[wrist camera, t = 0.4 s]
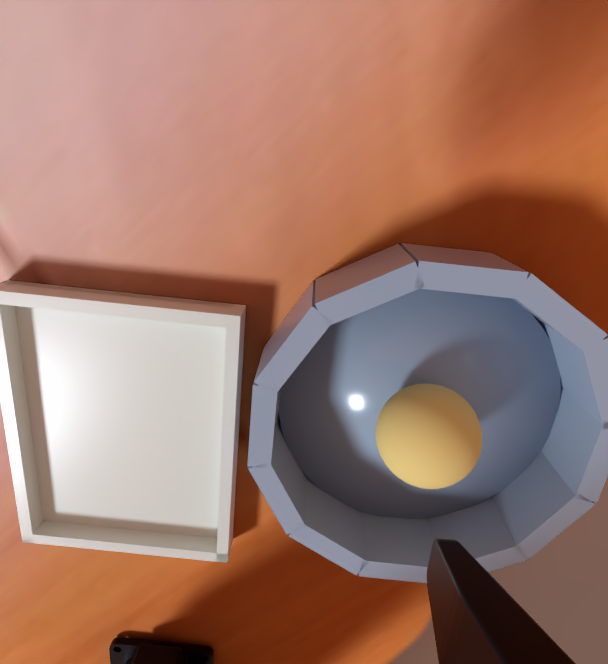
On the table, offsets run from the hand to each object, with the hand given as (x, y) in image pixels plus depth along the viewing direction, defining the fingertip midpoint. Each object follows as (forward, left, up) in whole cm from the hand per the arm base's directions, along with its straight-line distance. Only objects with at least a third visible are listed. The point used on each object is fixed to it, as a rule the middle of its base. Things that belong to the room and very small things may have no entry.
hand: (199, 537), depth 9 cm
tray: (-7, +7, -13) cm, 16 cm away
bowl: (-4, -7, -13) cm, 16 cm away
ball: (-4, -7, -10) cm, 13 cm away
